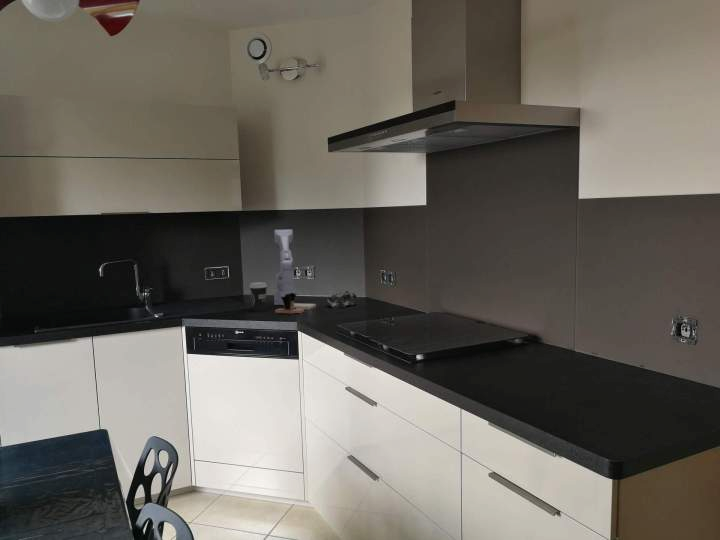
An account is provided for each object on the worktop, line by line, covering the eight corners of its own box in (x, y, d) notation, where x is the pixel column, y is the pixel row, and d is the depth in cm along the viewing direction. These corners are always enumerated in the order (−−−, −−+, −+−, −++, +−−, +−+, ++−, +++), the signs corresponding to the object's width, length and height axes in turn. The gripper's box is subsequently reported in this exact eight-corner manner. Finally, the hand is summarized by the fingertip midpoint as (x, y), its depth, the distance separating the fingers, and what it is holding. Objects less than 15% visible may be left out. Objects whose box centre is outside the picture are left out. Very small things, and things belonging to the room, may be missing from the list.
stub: (275, 312, 300) (274, 301, 299) (279, 311, 304) (279, 299, 304) (299, 313, 295) (299, 302, 294) (303, 311, 300) (303, 300, 299)
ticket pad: (286, 308, 312) (285, 305, 311) (293, 305, 320) (292, 303, 320) (309, 309, 307) (309, 306, 307) (316, 306, 316) (316, 303, 316)
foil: (327, 298, 322) (349, 284, 319) (338, 314, 321) (359, 300, 319) (322, 301, 310) (344, 286, 308) (333, 317, 310) (355, 303, 307)
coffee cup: (255, 313, 301) (254, 284, 299) (247, 310, 308) (245, 283, 307) (271, 310, 307) (270, 282, 305) (262, 308, 314) (261, 281, 313)
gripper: (289, 284, 289) (290, 311, 291) (300, 280, 303) (301, 306, 305) (276, 284, 292) (277, 310, 293) (288, 280, 305) (289, 305, 307)
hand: (289, 308), depth 299 cm, fingers closed on stub, 3 cm apart
